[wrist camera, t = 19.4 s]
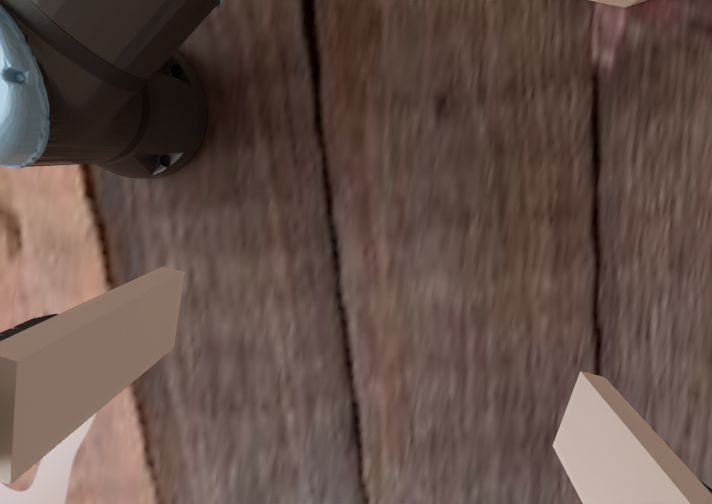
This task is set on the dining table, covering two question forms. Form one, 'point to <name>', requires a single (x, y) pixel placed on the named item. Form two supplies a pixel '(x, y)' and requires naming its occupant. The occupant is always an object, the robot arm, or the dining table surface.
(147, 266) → the dining table surface
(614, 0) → the cream bowl
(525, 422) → the dining table surface
